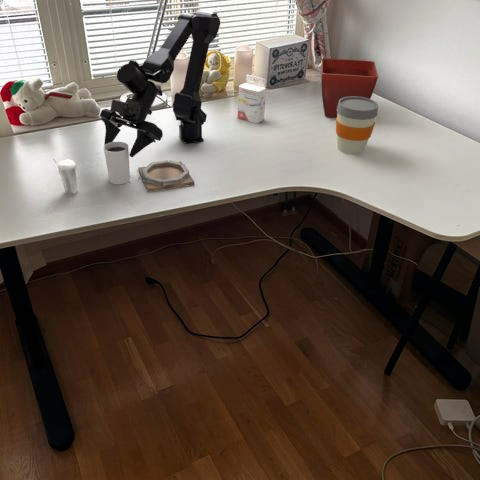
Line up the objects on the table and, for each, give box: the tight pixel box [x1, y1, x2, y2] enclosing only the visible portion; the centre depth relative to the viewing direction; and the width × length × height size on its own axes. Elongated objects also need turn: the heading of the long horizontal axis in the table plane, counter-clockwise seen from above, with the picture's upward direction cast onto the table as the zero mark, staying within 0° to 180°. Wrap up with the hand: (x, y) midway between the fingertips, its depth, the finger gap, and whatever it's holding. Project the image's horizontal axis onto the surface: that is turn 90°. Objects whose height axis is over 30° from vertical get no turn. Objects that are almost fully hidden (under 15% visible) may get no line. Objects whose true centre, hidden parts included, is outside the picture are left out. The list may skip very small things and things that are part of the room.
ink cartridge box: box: [237, 74, 267, 124], centre depth 182 cm, size 9×5×15 cm, turn 58°
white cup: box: [103, 141, 131, 185], centre depth 145 cm, size 7×7×10 cm
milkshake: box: [52, 158, 78, 196], centre depth 138 cm, size 4×5×10 cm
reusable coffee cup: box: [335, 96, 379, 155], centre depth 164 cm, size 12×13×15 cm
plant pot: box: [320, 57, 379, 119], centre depth 189 cm, size 19×19×17 cm
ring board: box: [137, 159, 195, 193], centre depth 148 cm, size 13×13×2 cm
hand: (117, 152), depth 143 cm, fingers open, 9 cm apart
